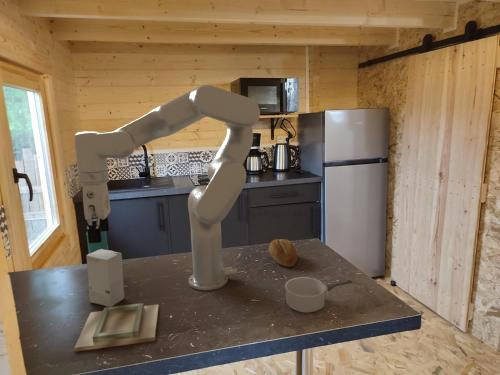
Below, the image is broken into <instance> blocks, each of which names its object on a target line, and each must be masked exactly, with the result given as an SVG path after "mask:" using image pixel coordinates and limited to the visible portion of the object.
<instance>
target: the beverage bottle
mask: <svg viewBox="0 0 500 375" xmlns="http://www.w3.org/2000/svg"><path fill="white" fill-rule="evenodd" d="M95 223H96V221H95ZM85 235H86V242H87V248H88V254H90V253H93V252H95V251H97V250H99V249H103V250H109V244H108V243H109V242H108V241H109V240H108V237H107V231H102V232H101V239H102V241H101V242H100V243H89V241H88V231H87V230H86V233H85Z"/></svg>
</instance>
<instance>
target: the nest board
mask: <svg viewBox="0 0 500 375" xmlns="http://www.w3.org/2000/svg"><path fill="white" fill-rule="evenodd" d="M159 310H160V306H159V304H150V305H145V304H144V302H141V303H132V304H123V305H116V306H115V305H113V306H112V307H107V306H105V307H104V308H103V310H100V311H92V312H90V313H89V314H88V317H87V319H86V322H85V324H84V326H83V329H82V331H81V332H80V335H79V337H78V339H77V342H76V344H75V346H74V348H73V349H74V350H73V351H74V352H82V351H89V350H96V349H97V350H98V349H104V348H112V347H118V346H126V345H133V344H140V343H146V342H147V343H148V342H154V341H156V333H157V324H158V317H159Z"/></svg>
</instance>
